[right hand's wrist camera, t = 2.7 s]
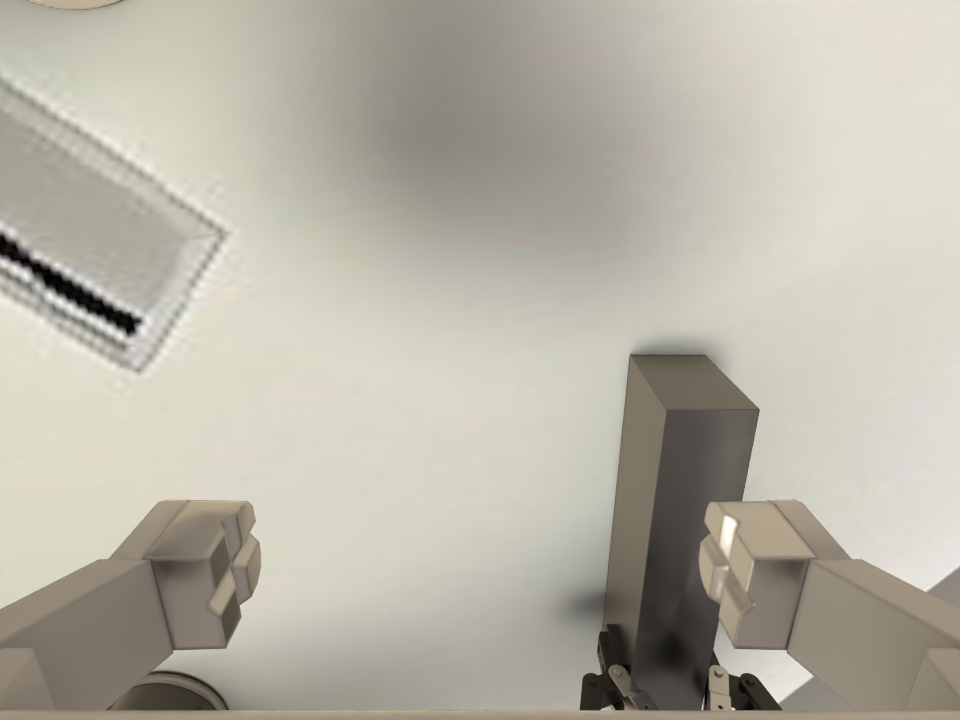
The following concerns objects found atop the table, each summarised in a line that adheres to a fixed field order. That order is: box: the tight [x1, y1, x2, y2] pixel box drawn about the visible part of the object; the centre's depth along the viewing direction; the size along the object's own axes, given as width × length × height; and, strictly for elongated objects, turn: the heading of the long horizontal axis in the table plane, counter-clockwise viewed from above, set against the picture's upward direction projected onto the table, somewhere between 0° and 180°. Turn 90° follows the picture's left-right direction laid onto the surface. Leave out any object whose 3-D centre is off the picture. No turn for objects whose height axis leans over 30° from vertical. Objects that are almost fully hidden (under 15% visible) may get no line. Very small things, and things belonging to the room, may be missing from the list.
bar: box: [602, 355, 760, 711], centre depth 39 cm, size 25×5×8 cm, turn 0°
